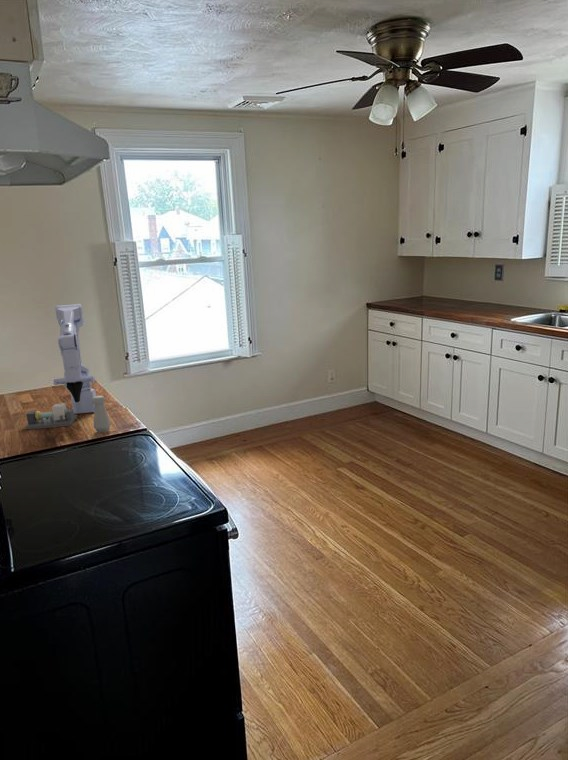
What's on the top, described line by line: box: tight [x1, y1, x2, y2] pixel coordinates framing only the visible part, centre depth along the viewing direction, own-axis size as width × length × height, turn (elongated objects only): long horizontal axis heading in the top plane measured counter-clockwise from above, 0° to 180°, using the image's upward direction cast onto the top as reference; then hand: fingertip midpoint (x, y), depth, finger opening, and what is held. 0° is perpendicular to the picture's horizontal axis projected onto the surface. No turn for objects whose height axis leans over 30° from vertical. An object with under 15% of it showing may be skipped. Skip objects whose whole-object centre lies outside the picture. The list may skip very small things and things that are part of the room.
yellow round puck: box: [35, 410, 42, 421], centre depth 205 cm, size 1×4×4 cm, turn 7°
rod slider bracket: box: [25, 408, 78, 430], centre depth 206 cm, size 16×10×5 cm, turn 97°
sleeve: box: [51, 402, 68, 421], centre depth 206 cm, size 4×4×5 cm
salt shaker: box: [92, 395, 112, 434], centre depth 192 cm, size 6×6×13 cm
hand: (77, 401), depth 206 cm, fingers closed
